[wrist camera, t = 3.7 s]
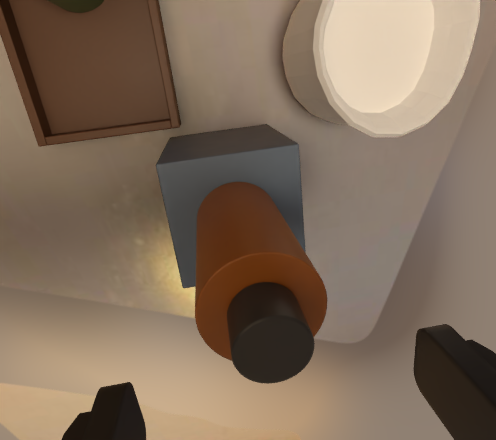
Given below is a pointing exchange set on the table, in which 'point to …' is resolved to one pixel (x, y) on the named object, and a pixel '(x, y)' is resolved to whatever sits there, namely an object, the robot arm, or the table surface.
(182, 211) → the stand
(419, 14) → the cup
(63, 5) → the green bottle mid
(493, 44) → the table surface
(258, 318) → the amber bottle
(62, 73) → the tray
